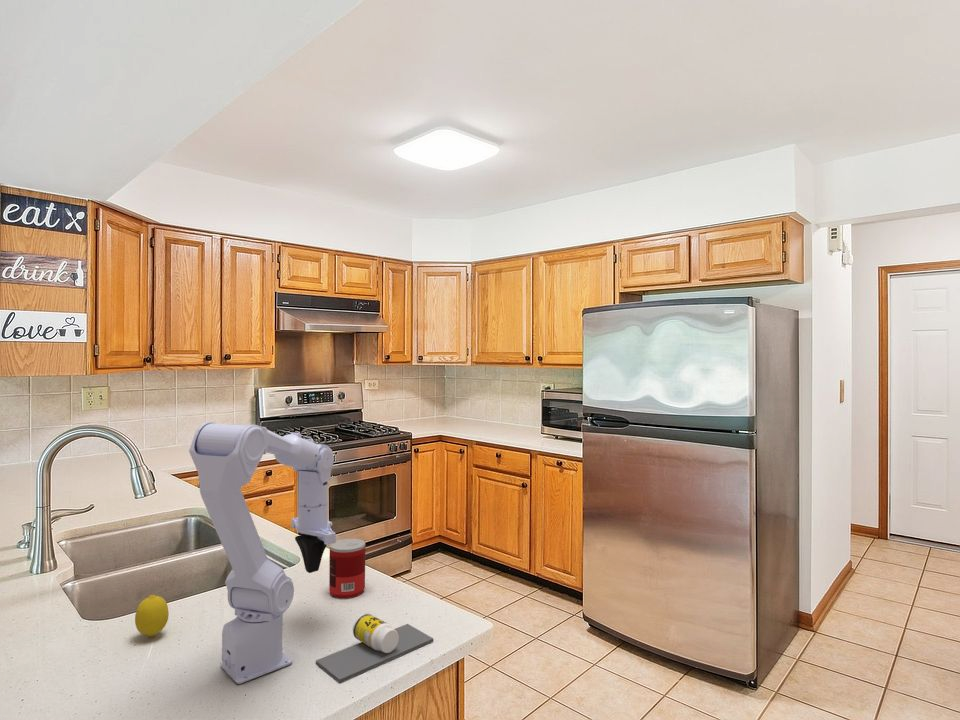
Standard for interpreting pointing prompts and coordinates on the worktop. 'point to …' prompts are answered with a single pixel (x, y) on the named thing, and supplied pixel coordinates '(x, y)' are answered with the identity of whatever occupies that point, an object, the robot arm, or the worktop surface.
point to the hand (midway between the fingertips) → (312, 570)
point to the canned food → (347, 568)
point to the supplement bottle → (375, 633)
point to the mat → (370, 655)
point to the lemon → (151, 615)
